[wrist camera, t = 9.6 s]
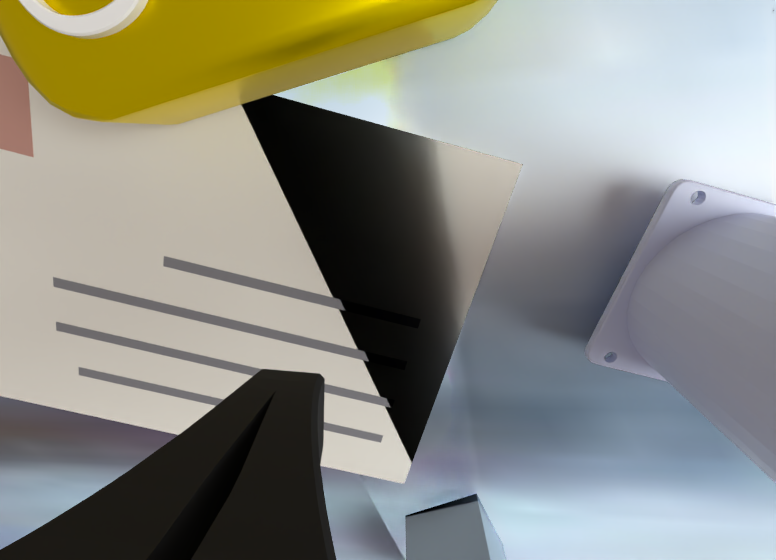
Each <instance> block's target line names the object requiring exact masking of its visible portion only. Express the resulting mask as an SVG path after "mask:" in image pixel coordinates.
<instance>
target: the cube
mask: <svg viewBox="0 0 776 560" xmlns="http://www.w3.org/2000/svg"><path fill="white" fill-rule="evenodd" d="M405 517H406V560H506V556H505V552H504V548H503V544H502V542H501V540H500V538H499V536H498V534H497V532H496V530H495V528H494V526H493V524H492V522H491V521H490V519H489V517H488V515H487V513H486V511H485V509H484V507H483V505H482V503H481V501H480V499H479V498H478V496H477V494H474V495H471V496H468V497H464V498H461V499H458V500H454V501H451V502H448V503H445V504H441V505H438V506H435V507H431V508H428V509H425V510H422V511H418V512H415V513H412V514H409V515H405Z"/></svg>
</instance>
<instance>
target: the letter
mask: <svg viewBox="0 0 776 560" xmlns="http://www.w3.org/2000/svg"><path fill="white" fill-rule="evenodd" d="M522 165H523V164H520V163H516V162H513V161H509V160H505V159H502V158H498V157H495V156H491V155H487V154H484V153H480V152H477V151H473V150H469V149H466V148H462V147H459V146H455V145H451V144H448V143H444V142H441V141H437V140H433V139H430V138H426V137H423V136H419V135H415V134H412V133H408V132H405V131H401V130H397V129H394V128H390V127H387V126H383V125H379V124H376V123H372V122H369V121H365V120H361V119H358V118H354V117H351V116H347V115H343V114H340V113H336V112H333V111H329V110H325V109H322V108H318V107H315V106H311V105H307V104H304V103H300V102H297V101H293V100H289V99H286V98H282V97H279V96H275V95H270V96H267V97H263V98H260V99H257V100H254V101H251V102H247V103H244V104H241V105H238V106H235V107H231V108H228V109H225V110H222V111H219V112H216V113H212V114H209V115H206V116H203V117H200V118H196V119H193V120H190V121H187V122H184V123H181V124H173V125H160V124H136V123H112V122H98V121H91V120H85V119H78V118H75V117H73V116H71V115H69V114H67V113H65V112H63V111H62V110H60V109H58V108H56V107H54V106H52V105H50V104H49V103H48V102H47V101H46V100H45V99H44V98H43V97H42V96H41V95H40V94H39V93H38V91H37V90H36V89H35V88H34V87H33V86H32V85H31V84H30V83H29V82H28V81H27V79H26V78H25V76H24V75H23V73H22V72H21V70H20V69H19V67H18V66H17V65H16V63H15V62H14V60H13V59H12V57H11V55H10V53H9V51H8V49H7V47H6V45H5V43H4V42H3V40H2V38H1V36H0V396H3V397H7V398H12V399H17V400H21V401H26V402H30V403H35V404H39V405H44V406H49V407H53V408H58V409H62V410H67V411H72V412H76V413H81V414H85V415H90V416H95V417H99V418H104V419H108V420H113V421H118V422H122V423H127V424H131V425H136V426H141V427H145V428H150V429H154V430H159V431H163V432H168V433H173V434H177V435H179V434H181V433H182V432H183V431H185V430H186V429H187V428H188V427H190V426H191V425H192V424H194V423H195V422H196V421H197V420H199V419H200V418H201V417H203V416H204V415H205V414H206V413H208V412H209V411H210V410H212V409H213V408H214V407H215V406H217V405H218V404H219V403H220V402H222V401H223V400H224V399H225V398H227V397H228V396H229V395H230V394H231V393H233V392H234V391H235V390H236V389H238V388H239V387H240V386H241V385H243V384H244V383H245V382H246V381H248V380H249V379H250V378H251V377H253V376H254V375H255V374H256V373H258V372H259V371H260V370H262V369H272V370H284V371H296V372H308V373H320V374H321V375H322V376H323V377H324V379H325V388H324V440H323V451H322V457H321V463H320V466H324V467H329V468H333V469H338V470H343V471H347V472H352V473H356V474H361V475H366V476H370V477H375V478H379V479H384V480H389V481H393V482H398V483H402V484H404V483H405V480H406V477H407V475H408V472H409V469H410V467H411V464H412V461H413V458H414V456H415V453H416V450H417V448H418V445H419V442H420V440H421V437H422V434H423V432H424V429H425V426H426V424H427V421H428V418H429V415H430V413H431V410H432V407H433V405H434V402H435V399H436V397H437V394H438V391H439V389H440V386H441V383H442V380H443V378H444V375H445V372H446V370H447V367H448V364H449V362H450V359H451V356H452V354H453V351H454V348H455V345H456V343H457V340H458V337H459V335H460V332H461V329H462V327H463V324H464V321H465V319H466V316H467V313H468V311H469V308H470V305H471V302H472V300H473V297H474V294H475V292H476V289H477V286H478V284H479V281H480V278H481V276H482V273H483V270H484V267H485V265H486V262H487V259H488V257H489V254H490V251H491V249H492V246H493V243H494V241H495V238H496V235H497V232H498V230H499V227H500V224H501V222H502V219H503V216H504V214H505V211H506V208H507V206H508V203H509V200H510V197H511V195H512V192H513V189H514V187H515V184H516V181H517V179H518V176H519V173H520V171H521V168H522Z"/></svg>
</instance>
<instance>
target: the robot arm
mask: <svg viewBox="0 0 776 560" xmlns="http://www.w3.org/2000/svg"><path fill="white" fill-rule="evenodd" d="M695 192H698V197H697V199H696V200H695V201H694V202H692V203H691V196H692V195H693V194H694V193H695ZM610 352H612V354H611V355H610V356H609V357H607V358H605V355H606V354H607V353H610ZM584 353H585V356H586V357H587V358H588V359H589V361H590V362H592V363H594V364H598V365H602V366H606V367H610V368H614V369H618V370H622V371H626V372H630V373H634V374H638V375H642V376H646V377H650V378H654V379H658V380H662V381H667V382H669V383H670V384H671V385H672V386H673V387H674V388H675V389H676V390H677V391H678V392H679V393H680V394H681V395H682V396H683V397H685V398H686V399H687V400H688V401H689V402H690V403H691V404H692V405H693V406H694V407H695V408H696V409H697V410H698V411H699V412H700V413H701V414H703V415H704V416H705V417H706V418H707V419H708V420H709V421H710V422H711V423H712V424H713V425H714V426H715V427H716V428H717V429H718V430H720V431H721V432H722V433H723V434H724V435H725V436H726V437H727V438H728V439H729V440H730V441H731V442H732V443H733V444H734V445H735V446H736V447H738V448H739V449H740V450H741V451H742V452H743V453H744V454H745V455H746V456H747V457H748V458H749V459H750V460H751V461H752V462H753V463H754V464H756V465H757V466H758V467H759V468H760V469H761V470H762V471H763V472H764V473H765V474H766V475H767V476H768V477H769V478H770V479H771V480H773V481H774V482H775V483H776V204H773V203H769V202H766V201H762V200H758V199H755V198H751V197H748V196H744V195H741V194H737V193H734V192H730V191H727V190H723V189H720V188H716V187H713V186H709V185H706V184H702V183H698V182H695V181H691V180H684V179H680V180H677V181H675V182H673V183H672V184H671V185H670V186H669V187H668V189H667V190H666V192H665V194H664V196H663V198H662V200H661V202H660V204H659V206H658V208H657V210H656V211H655V213H654V215H653V217H652V219H651V221H650V223H649V225H648V227H647V229H646V231H645V233H644V235H643V237H642V239H641V241H640V243H639V245H638V246H637V248H636V250H635V252H634V254H633V256H632V258H631V260H630V262H629V264H628V266H627V268H626V270H625V272H624V274H623V276H622V278H621V280H620V281H619V283H618V285H617V287H616V289H615V291H614V293H613V295H612V297H611V299H610V301H609V303H608V305H607V307H606V309H605V311H604V313H603V314H602V316H601V318H600V320H599V322H598V324H597V326H596V328H595V330H594V332H593V334H592V336H591V338H590V340H589V342H588V344H587V346H586V348H585V351H584ZM324 388H325V379H324V377H323V376H322V375H321V374H320V373H308V372H296V371H284V370H272V369H262V370H260V371H259V372H258V373H256V374H255V375H254V376H253V377H251V378H250V379H249V380H248V381H246V382H245V383H244V384H243V385H241V386H240V387H239V388H238V389H236V390H235V391H234V392H233V393H231V394H230V395H229V396H228V397H227V398H225V399H224V400H223V401H222V402H220V403H219V404H218V405H217V406H215V407H214V408H213V409H212V410H210V411H209V412H208V413H206V414H205V415H204V416H203V417H201V418H200V419H199V420H197V421H196V422H195V423H194V424H192V425H191V426H190V427H188V428H187V429H186V430H185V431H183V432H182V433H181V434H179V435H178V436H177V437H175V438H174V439H173V440H171V441H170V442H168V443H167V444H166V445H164V446H163V447H161V448H160V449H159V450H157V451H156V452H154V453H153V454H152V455H150V456H149V457H147V458H146V459H145V460H143V461H142V462H140V463H139V464H138V465H136V466H135V467H133V468H132V469H131V470H129V471H128V472H126V473H125V474H123V475H122V476H120V477H119V478H117V479H116V480H115V481H113V482H112V483H110V484H108V485H107V486H105V487H104V488H102V489H101V490H99V491H98V492H96V493H95V494H93V495H92V496H90V497H88V498H87V499H85V500H84V501H82V502H80V503H79V504H77V505H75V506H74V507H72V508H71V509H69V510H67V511H66V512H64V513H63V514H61V515H59V516H58V517H56V518H54V519H53V520H51V521H50V522H48V523H46V524H45V525H43V526H41V527H40V528H38V529H36V530H35V531H33V532H31V533H30V534H28V535H26V536H24V537H22V538H21V539H19V540H17V541H15V542H14V543H12V544H10V545H8V546H6V547H5V548H3V549H1V550H0V560H336V556H335V552H334V547H333V542H332V537H331V532H330V527H329V521H328V516H327V510H326V504H325V498H324V491H323V483H322V476H321V468H320V463H321V457H322V451H323V440H324Z"/></svg>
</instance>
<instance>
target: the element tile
mask: <svg viewBox="0 0 776 560" xmlns="http://www.w3.org/2000/svg"><path fill="white" fill-rule="evenodd" d="M497 1H498V0H0V36H1V38H2V40H3V42H4V43H5V45H6V47H7V49H8V51H9V53H10V55H11V57H12V59H13V60H14V62H15V63H16V65H17V66H18V67H19V69H20V70H21V72H22V73H23V75H24V76H25V78H26V79H27V81H28V82H29V83H30V84H31V85H32V86H33V87H34V88H35V89H36V90H37V91H38V93H39V94H40V95H41V96H42V97H43V98H44V99H45V100H46V101H47V102H48V103H49V104H50V105H52V106H54V107H56V108H58V109H60V110H62V111H63V112H65V113H67V114H69V115H71V116H73V117H75V118H78V119H85V120H91V121H98V122H112V123H136V124H160V125H173V124H181V123H184V122H187V121H190V120H193V119H196V118H200V117H203V116H206V115H209V114H212V113H216V112H219V111H222V110H225V109H228V108H231V107H235V106H238V105H241V104H244V103H247V102H251V101H254V100H257V99H260V98H263V97H267V96H270V95H273V94H276V93H279V92H282V91H286V90H289V89H292V88H295V87H298V86H302V85H305V84H308V83H311V82H314V81H317V80H321V79H324V78H327V77H330V76H333V75H337V74H340V73H343V72H346V71H349V70H352V69H356V68H359V67H362V66H365V65H368V64H372V63H375V62H378V61H381V60H384V59H387V58H391V57H394V56H397V55H400V54H403V53H407V52H410V51H413V50H416V49H419V48H422V47H426V46H429V45H432V44H435V43H438V42H442V41H445V40H448V39H451V38H454V37H456V36H458V35H460V34H462V33H464V32H466V31H468V30H470V29H471V28H472V27H473V26H474V25H475V24H477V23H478V22H479V21H480V20H481V19H482V18H483V17H485V16H486V15H487V14H488V13H489V11H490V10H491V9H492V7H493V6H494V5H495V3H496V2H497Z"/></svg>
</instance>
